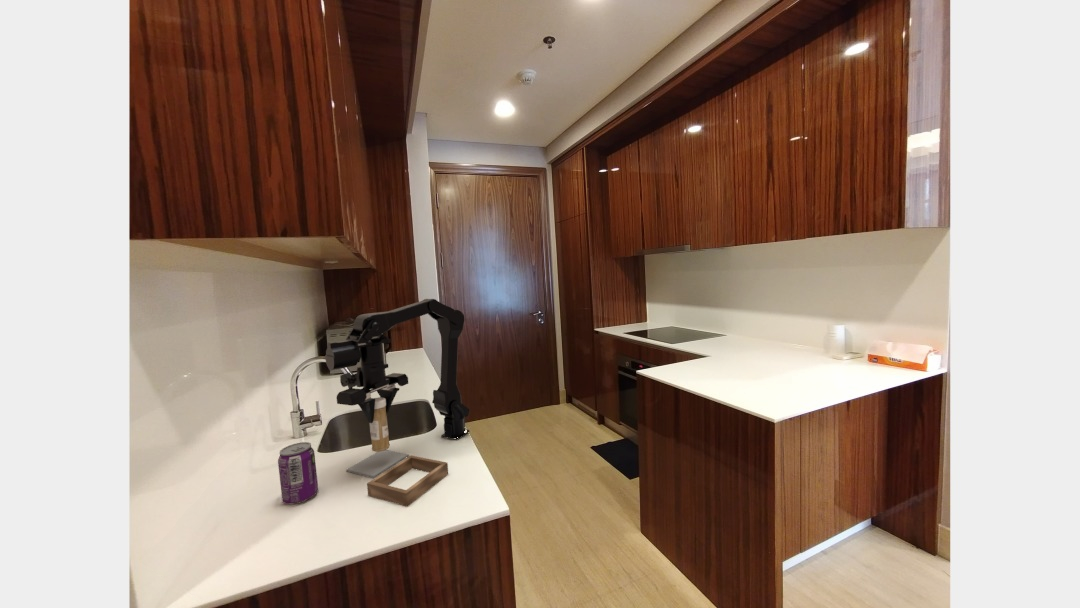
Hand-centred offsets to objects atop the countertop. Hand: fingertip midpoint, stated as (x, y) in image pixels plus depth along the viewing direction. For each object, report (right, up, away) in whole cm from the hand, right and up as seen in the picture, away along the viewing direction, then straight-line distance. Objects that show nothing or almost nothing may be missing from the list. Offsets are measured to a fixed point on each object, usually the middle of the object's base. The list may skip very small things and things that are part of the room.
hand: (378, 419), depth 99 cm
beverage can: (-13, -15, -12) cm, 23 cm away
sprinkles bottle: (0, -8, +1) cm, 8 cm away
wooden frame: (+12, -13, -9) cm, 19 cm away
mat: (-1, -13, +2) cm, 13 cm away
